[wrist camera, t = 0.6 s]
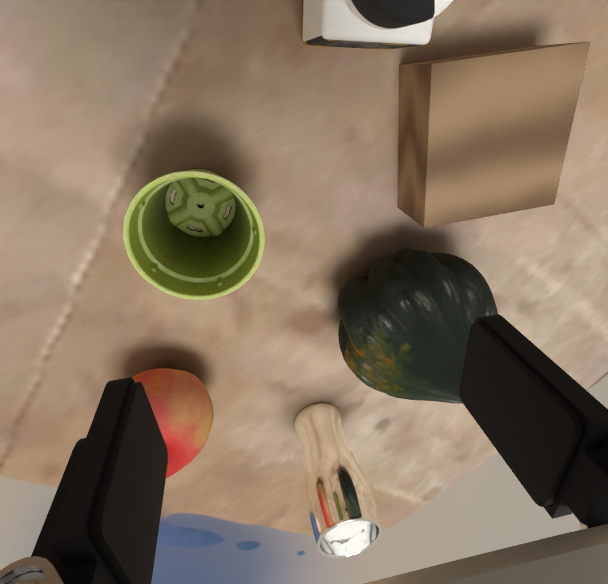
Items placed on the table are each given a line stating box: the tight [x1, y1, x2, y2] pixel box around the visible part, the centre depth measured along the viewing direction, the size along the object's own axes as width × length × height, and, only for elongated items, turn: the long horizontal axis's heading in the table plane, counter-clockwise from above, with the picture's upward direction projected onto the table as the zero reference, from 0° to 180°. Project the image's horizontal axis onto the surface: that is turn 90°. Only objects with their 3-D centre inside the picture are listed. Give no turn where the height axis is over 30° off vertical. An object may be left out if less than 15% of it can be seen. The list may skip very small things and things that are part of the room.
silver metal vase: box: [295, 403, 382, 558], centre depth 44 cm, size 7×7×15 cm
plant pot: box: [123, 169, 265, 300], centre depth 30 cm, size 9×9×9 cm
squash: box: [338, 249, 498, 403], centre depth 38 cm, size 14×15×15 cm
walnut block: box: [398, 42, 590, 228], centre depth 33 cm, size 12×12×6 cm
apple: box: [132, 368, 214, 478], centre depth 38 cm, size 10×10×10 cm
